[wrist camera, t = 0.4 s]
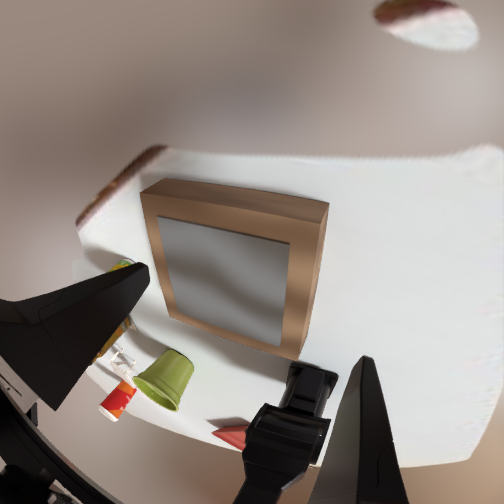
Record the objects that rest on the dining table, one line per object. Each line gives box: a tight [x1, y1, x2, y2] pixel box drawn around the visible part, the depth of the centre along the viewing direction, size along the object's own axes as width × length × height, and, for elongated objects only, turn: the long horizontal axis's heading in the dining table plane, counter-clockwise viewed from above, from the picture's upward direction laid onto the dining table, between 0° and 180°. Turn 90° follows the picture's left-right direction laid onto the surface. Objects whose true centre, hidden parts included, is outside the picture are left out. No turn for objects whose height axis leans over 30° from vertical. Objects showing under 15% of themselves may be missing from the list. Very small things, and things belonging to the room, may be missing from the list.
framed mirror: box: [140, 179, 329, 361], centre depth 27 cm, size 16×16×4 cm
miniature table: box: [110, 349, 138, 389], centre depth 60 cm, size 12×8×5 cm
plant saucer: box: [212, 426, 248, 451], centre depth 57 cm, size 18×18×3 cm
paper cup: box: [98, 380, 137, 422], centre depth 72 cm, size 8×8×14 cm
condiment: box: [89, 315, 138, 366], centre depth 43 cm, size 7×8×12 cm
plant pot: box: [132, 350, 194, 412], centre depth 44 cm, size 9×9×9 cm
